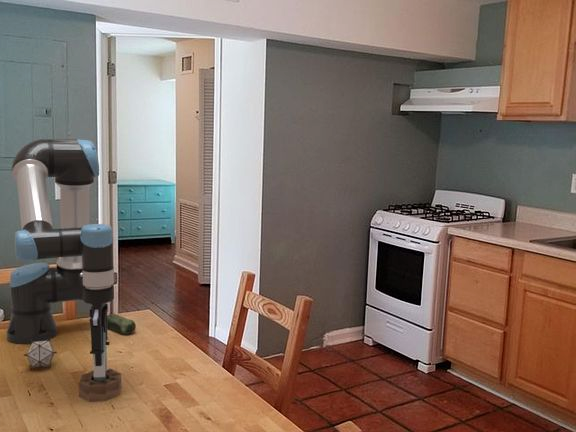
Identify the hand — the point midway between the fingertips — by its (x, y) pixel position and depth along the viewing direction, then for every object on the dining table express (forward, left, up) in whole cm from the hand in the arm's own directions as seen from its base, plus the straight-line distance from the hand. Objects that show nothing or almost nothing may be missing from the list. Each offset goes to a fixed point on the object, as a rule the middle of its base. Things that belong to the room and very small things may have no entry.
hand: (100, 373), depth 147 cm
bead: (0, 0, -5) cm, 5 cm away
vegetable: (-47, -1, -6) cm, 47 cm away
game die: (-18, -19, -5) cm, 27 cm away
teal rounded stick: (0, 0, -5) cm, 5 cm away
